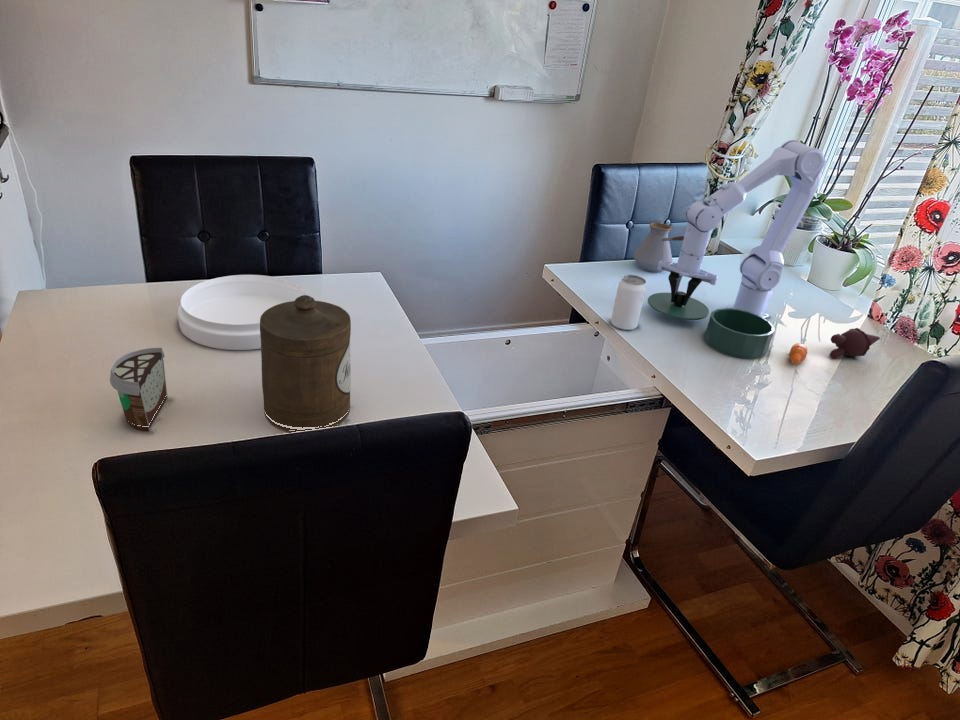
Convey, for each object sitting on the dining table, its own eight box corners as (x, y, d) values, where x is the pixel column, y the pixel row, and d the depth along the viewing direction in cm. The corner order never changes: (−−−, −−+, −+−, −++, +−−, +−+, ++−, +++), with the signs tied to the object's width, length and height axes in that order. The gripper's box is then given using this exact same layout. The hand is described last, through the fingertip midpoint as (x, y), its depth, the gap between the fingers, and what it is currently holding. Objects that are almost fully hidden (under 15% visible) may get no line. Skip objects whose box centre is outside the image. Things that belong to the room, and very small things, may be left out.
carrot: (795, 355, 159) (790, 341, 159) (811, 351, 157) (805, 337, 156) (789, 370, 152) (784, 356, 151) (806, 366, 150) (800, 352, 149)
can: (637, 332, 160) (648, 286, 154) (609, 328, 160) (619, 282, 155) (636, 321, 165) (647, 276, 159) (610, 317, 166) (620, 272, 160)
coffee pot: (624, 260, 203) (635, 212, 196) (657, 259, 207) (668, 212, 199) (662, 289, 186) (675, 237, 178) (696, 287, 189) (711, 237, 182)
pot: (721, 325, 169) (728, 303, 166) (776, 347, 160) (784, 325, 157) (693, 340, 159) (699, 317, 156) (749, 365, 151) (757, 341, 148)
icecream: (867, 320, 164) (819, 329, 159) (894, 327, 157) (845, 336, 153) (864, 347, 166) (817, 357, 161) (891, 355, 159) (842, 365, 155)
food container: (133, 394, 117) (124, 344, 113) (170, 395, 118) (163, 346, 113) (106, 436, 107) (94, 382, 102) (146, 437, 108) (137, 384, 103)
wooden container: (363, 421, 117) (365, 308, 106) (280, 443, 110) (273, 323, 99) (331, 380, 128) (330, 274, 117) (253, 398, 120) (244, 285, 109)
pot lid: (667, 291, 180) (670, 276, 178) (719, 312, 171) (723, 297, 169) (635, 304, 170) (639, 289, 168) (688, 328, 161) (693, 311, 159)
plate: (296, 290, 161) (295, 269, 159) (324, 341, 141) (323, 318, 138) (174, 301, 150) (171, 278, 147) (185, 358, 129) (182, 333, 127)
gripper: (659, 248, 163) (646, 299, 169) (718, 264, 157) (703, 316, 163) (667, 241, 168) (654, 291, 175) (725, 256, 162) (710, 307, 169)
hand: (678, 302), depth 169 cm, fingers closed on pot lid, 2 cm apart
